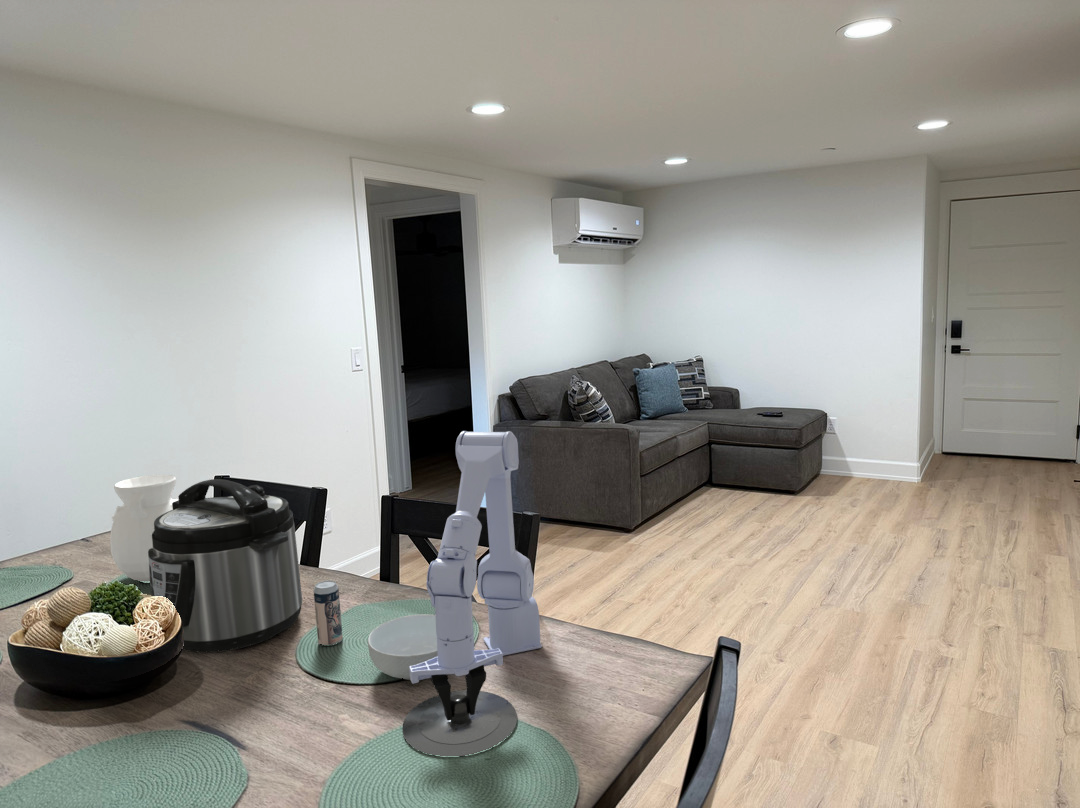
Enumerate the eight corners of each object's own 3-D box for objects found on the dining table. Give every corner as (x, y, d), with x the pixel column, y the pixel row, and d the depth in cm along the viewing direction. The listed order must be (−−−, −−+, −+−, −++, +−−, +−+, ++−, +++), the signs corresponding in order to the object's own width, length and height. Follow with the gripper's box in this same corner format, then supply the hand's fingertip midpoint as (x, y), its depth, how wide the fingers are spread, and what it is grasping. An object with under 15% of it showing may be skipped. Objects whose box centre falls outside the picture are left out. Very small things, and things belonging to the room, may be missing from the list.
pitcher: (134, 566, 195) (123, 474, 192) (207, 561, 197) (197, 469, 194) (101, 594, 177) (87, 492, 173) (181, 588, 179) (170, 487, 175)
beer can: (336, 648, 145) (331, 589, 143) (313, 647, 146) (308, 588, 144) (347, 637, 149) (342, 580, 148) (325, 636, 150) (320, 579, 149)
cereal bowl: (421, 703, 124) (419, 663, 123) (350, 679, 133) (347, 642, 132) (482, 659, 138) (480, 623, 137) (414, 640, 147) (412, 606, 146)
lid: (498, 685, 129) (497, 662, 129) (532, 741, 112) (531, 716, 112) (394, 708, 123) (392, 684, 123) (414, 771, 106) (412, 744, 106)
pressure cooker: (163, 614, 164) (146, 474, 160) (297, 590, 175) (285, 458, 170) (151, 676, 137) (131, 508, 132) (311, 643, 147) (297, 487, 143)
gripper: (413, 653, 109) (418, 738, 111) (507, 634, 114) (511, 717, 116) (404, 633, 116) (410, 714, 118) (494, 617, 121) (498, 695, 123)
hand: (459, 714), depth 118 cm, fingers closed on lid, 3 cm apart
